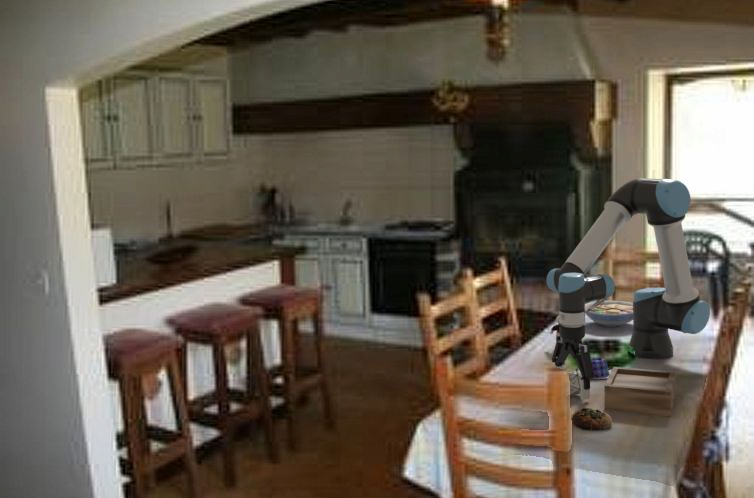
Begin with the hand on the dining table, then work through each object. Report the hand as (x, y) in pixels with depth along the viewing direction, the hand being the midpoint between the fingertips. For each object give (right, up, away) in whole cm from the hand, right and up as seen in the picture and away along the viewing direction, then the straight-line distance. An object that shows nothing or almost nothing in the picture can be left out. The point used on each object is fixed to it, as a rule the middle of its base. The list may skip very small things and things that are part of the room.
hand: (572, 392), depth 237 cm
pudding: (+13, +2, +18) cm, 22 cm away
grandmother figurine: (+8, +7, +48) cm, 49 cm away
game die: (0, -1, 0) cm, 1 cm away
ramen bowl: (+35, +13, +76) cm, 85 cm away
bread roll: (0, -5, -22) cm, 22 cm away
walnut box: (+18, -1, -8) cm, 20 cm away
